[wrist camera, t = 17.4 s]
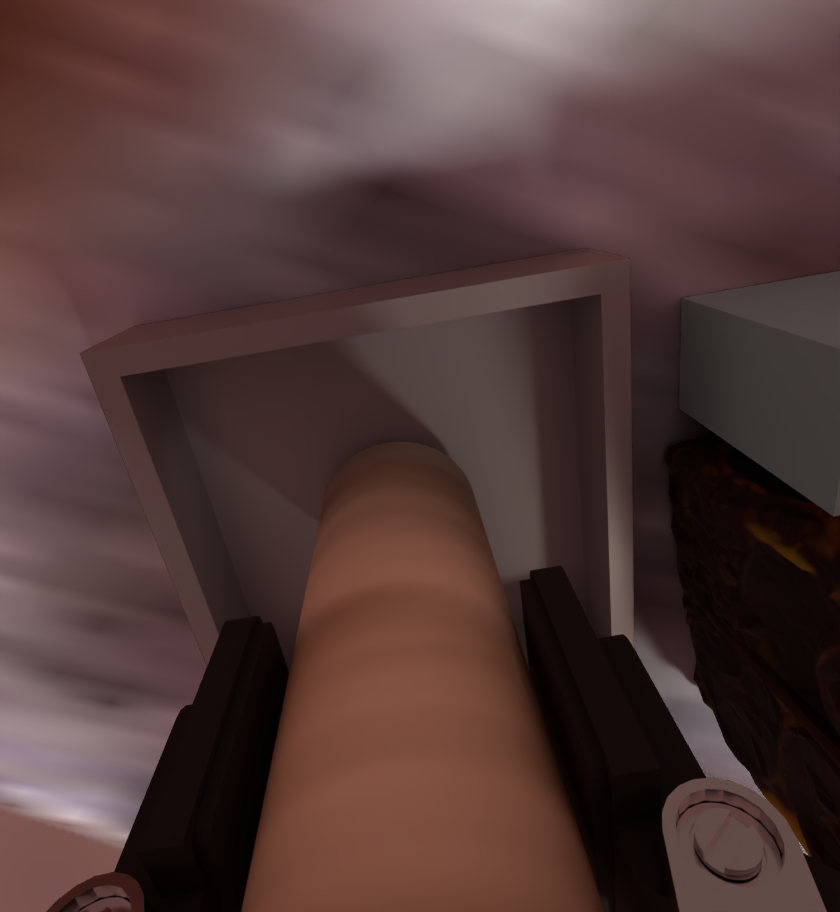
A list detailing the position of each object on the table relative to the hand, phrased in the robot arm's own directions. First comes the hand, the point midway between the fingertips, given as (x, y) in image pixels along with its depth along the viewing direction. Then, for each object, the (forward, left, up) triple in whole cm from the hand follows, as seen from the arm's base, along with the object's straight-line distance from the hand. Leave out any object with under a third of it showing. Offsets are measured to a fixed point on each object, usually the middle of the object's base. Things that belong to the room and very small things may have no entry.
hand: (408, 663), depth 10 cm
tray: (0, 0, -7) cm, 7 cm away
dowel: (0, 0, -6) cm, 6 cm away
